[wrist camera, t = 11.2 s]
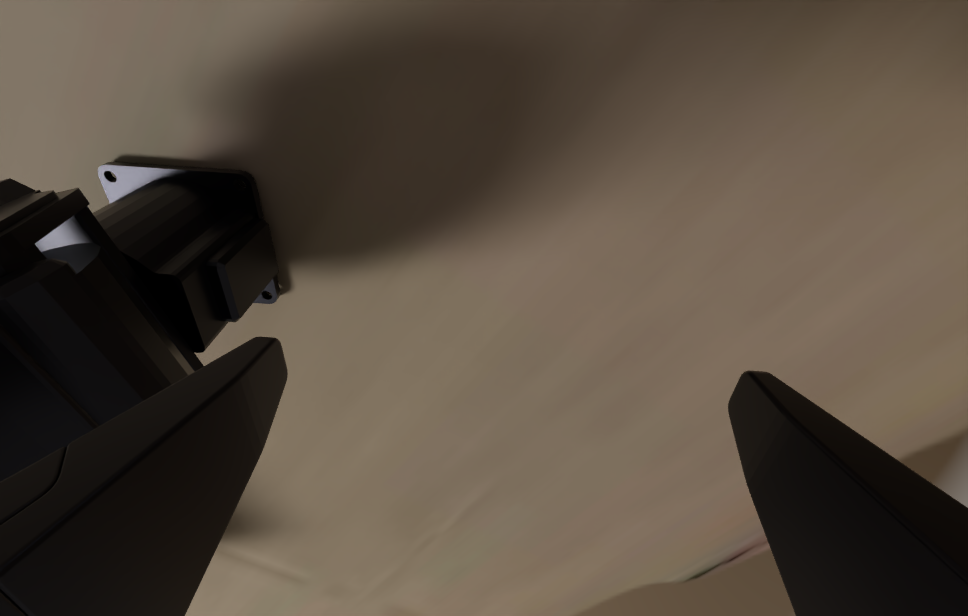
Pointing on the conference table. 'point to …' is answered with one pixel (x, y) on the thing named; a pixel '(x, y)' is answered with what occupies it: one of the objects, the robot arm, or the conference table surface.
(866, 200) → the conference table surface
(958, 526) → the robot arm
